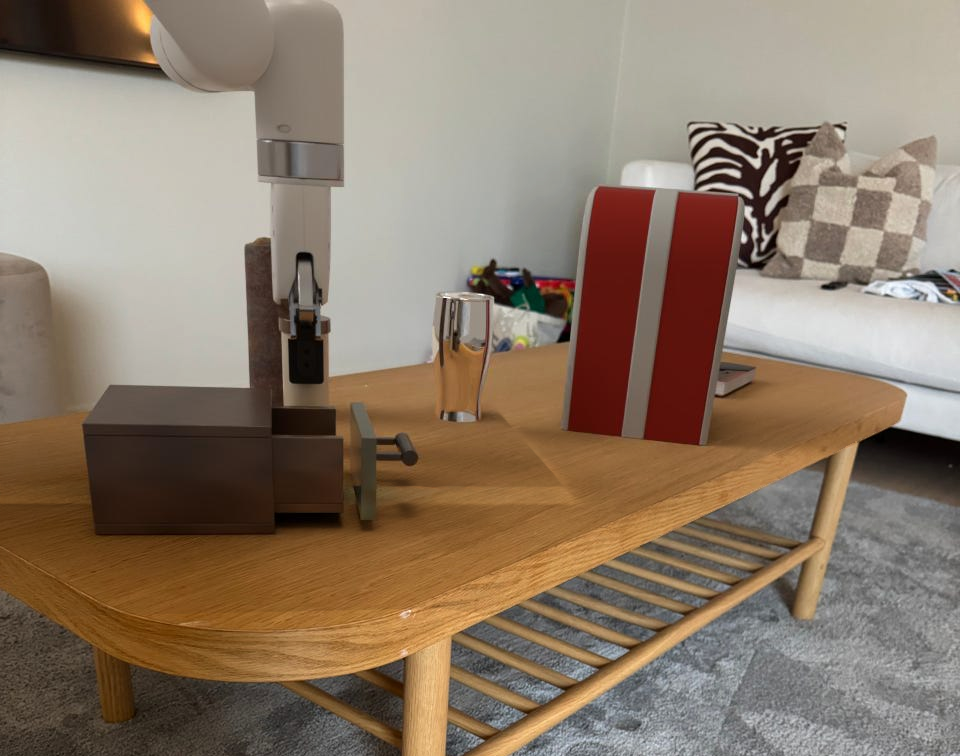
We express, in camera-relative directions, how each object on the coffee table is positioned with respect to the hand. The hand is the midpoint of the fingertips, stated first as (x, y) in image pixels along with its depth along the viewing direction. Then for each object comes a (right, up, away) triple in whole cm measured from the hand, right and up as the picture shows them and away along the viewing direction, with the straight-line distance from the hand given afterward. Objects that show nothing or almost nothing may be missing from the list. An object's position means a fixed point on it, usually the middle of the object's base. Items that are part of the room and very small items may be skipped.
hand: (305, 375), depth 92 cm
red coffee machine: (+37, +2, +30) cm, 47 cm away
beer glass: (+14, -1, +21) cm, 25 cm away
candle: (-5, -1, +17) cm, 18 cm away
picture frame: (+47, +15, +58) cm, 76 cm away
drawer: (+3, -13, -8) cm, 15 cm away
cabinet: (-8, -14, -10) cm, 19 cm away
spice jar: (0, -4, +2) cm, 5 cm away
